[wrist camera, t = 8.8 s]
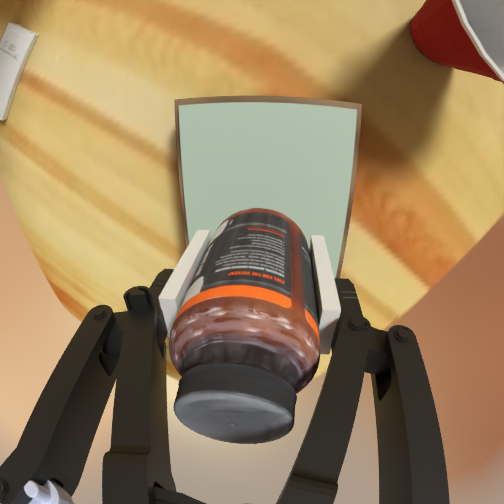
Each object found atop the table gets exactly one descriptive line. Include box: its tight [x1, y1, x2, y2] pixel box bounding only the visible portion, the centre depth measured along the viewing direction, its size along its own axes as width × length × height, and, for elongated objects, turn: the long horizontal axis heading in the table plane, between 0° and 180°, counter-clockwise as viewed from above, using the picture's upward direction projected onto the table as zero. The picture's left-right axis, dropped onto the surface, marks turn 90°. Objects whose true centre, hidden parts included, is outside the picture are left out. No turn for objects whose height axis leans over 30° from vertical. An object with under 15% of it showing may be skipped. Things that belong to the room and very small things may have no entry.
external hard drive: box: [0, 22, 39, 121], centre depth 20 cm, size 2×8×12 cm
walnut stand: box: [175, 96, 362, 278], centre depth 25 cm, size 18×14×5 cm
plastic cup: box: [411, 0, 504, 83], centre depth 11 cm, size 11×11×12 cm
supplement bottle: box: [169, 208, 320, 444], centre depth 13 cm, size 6×6×11 cm
